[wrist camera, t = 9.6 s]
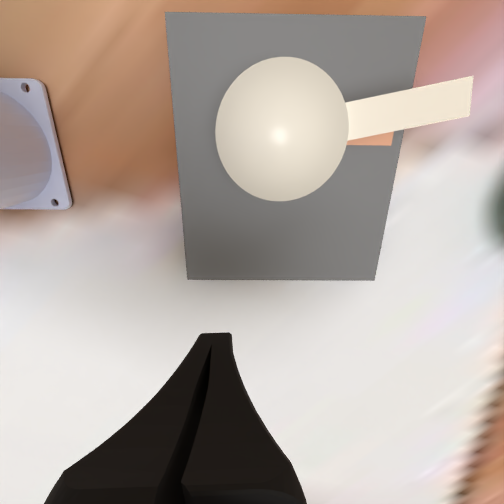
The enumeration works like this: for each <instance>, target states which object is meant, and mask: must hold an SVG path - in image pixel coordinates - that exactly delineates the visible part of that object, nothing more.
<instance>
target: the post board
mask: <svg viewBox="0 0 504 504" xmlns="http://www.w3.org/2000/svg"><path fill="white" fill-rule="evenodd" d="M165 20H166V32H167V44H168V55H169V67H170V79H171V91H172V102H173V114H174V126H175V138H176V150H177V161H178V173H179V185H180V197H181V208H182V220H183V232H184V244H185V255H186V267H187V279H188V280H370V281H374V280H375V275H376V270H377V265H378V260H379V254H380V249H381V244H382V239H383V234H384V229H385V224H386V219H387V214H388V209H389V204H390V199H391V194H392V188H393V183H394V178H395V173H396V168H397V163H398V158H399V153H400V148H401V143H402V138H403V133H404V129H403V130H398V131H393V132H388V133H383V134H378V135H373V136H368V137H363V138H358V139H353V140H348V141H347V145H346V149H345V152H344V154H343V157H342V159H341V161H340V163H339V165H338V167H337V168H336V170H335V171H334V173H333V174H332V175H331V177H330V178H329V179H328V180H327V181H326V182H325V183H324V184H323V185H322V186H321V187H319V188H318V189H316V190H315V191H314V192H312V193H310V194H308V195H306V196H304V197H301V198H298V199H294V200H290V201H269V200H264V199H261V198H258V197H256V196H253V195H251V194H249V193H248V192H246V191H245V190H243V189H242V188H241V187H239V186H238V185H237V184H236V183H235V182H234V181H233V180H232V178H231V177H230V176H229V174H228V173H227V171H226V170H225V168H224V166H223V164H222V162H221V159H220V157H219V153H218V150H217V145H216V135H215V128H216V119H217V114H218V110H219V107H220V104H221V101H222V99H223V97H224V95H225V93H226V91H227V90H228V88H229V87H230V85H231V84H232V83H233V82H234V81H235V79H236V78H237V77H238V76H239V75H240V74H241V73H243V72H244V71H245V70H246V69H248V68H249V67H251V66H252V65H254V64H256V63H258V62H261V61H263V60H266V59H270V58H275V57H295V58H300V59H303V60H306V61H309V62H311V63H313V64H315V65H317V66H318V67H319V68H321V69H322V70H323V71H325V72H326V73H327V74H328V75H329V76H330V77H331V78H332V80H333V81H334V82H335V83H336V85H337V86H338V88H339V90H340V92H341V93H342V96H343V98H344V101H345V103H346V102H351V101H355V100H360V99H365V98H370V97H374V96H379V95H384V94H389V93H393V92H398V91H403V90H408V89H412V87H413V82H414V77H415V72H416V67H417V62H418V57H419V51H420V46H421V41H422V36H423V31H424V26H425V21H426V16H371V15H313V14H255V13H197V12H165Z"/></svg>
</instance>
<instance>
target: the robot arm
mask: <svg viewBox="0 0 504 504" xmlns="http://www.w3.org/2000/svg"><path fill="white" fill-rule="evenodd" d="M27 84H28V85H29V87H30V91H29V92H27V91H26V85H27ZM54 199H56V200H57V201H58V203H59V205H57V204H56V203H55V202H54ZM71 206H72V199H71V195H70V191H69V187H68V182H67V178H66V174H65V169H64V165H63V161H62V156H61V152H60V148H59V143H58V139H57V135H56V130H55V126H54V122H53V118H52V113H51V109H50V105H49V100H48V96H47V92H46V88H45V86H44V84H43V83H42V82H41V81H39V80H37V79H32V78H0V209H46V210H65V209H68V208H70V207H71ZM44 504H307V503H306V499H305V496H304V493H303V490H302V487H301V485H300V482H299V480H298V478H297V475H296V473H295V471H294V468H293V466H292V464H291V462H290V460H289V459H288V458H287V457H286V455H285V454H284V453H283V451H282V450H281V449H280V447H279V446H278V445H277V443H276V442H275V440H274V439H273V437H272V436H271V434H270V433H269V431H268V430H267V428H266V426H265V425H264V423H263V421H262V420H261V418H260V417H259V415H258V413H257V411H256V410H255V408H254V406H253V404H252V402H251V400H250V398H249V396H248V394H247V391H246V389H245V387H244V385H243V382H242V379H241V377H240V374H239V371H238V368H237V365H236V362H235V359H234V355H233V346H232V335H231V334H230V333H202V334H200V335H199V337H198V339H197V340H196V342H195V344H194V345H193V347H192V348H191V350H190V351H189V353H188V354H187V356H186V357H185V359H184V360H183V361H182V363H181V364H180V366H179V367H178V368H177V370H176V371H175V372H174V373H173V375H172V376H171V377H170V378H169V380H168V381H167V382H166V383H165V385H164V386H163V387H162V388H161V389H160V390H159V392H158V393H157V394H156V395H155V396H154V397H153V398H152V399H151V400H150V401H149V402H148V403H147V404H146V405H145V406H144V407H143V408H142V409H141V410H140V411H139V412H138V413H137V414H136V415H135V416H134V417H133V418H132V419H131V420H130V421H129V422H128V423H126V424H125V425H124V426H123V427H122V428H121V429H119V430H118V431H117V432H116V433H115V434H113V435H112V436H111V437H110V438H109V439H107V440H106V441H105V442H104V443H102V444H101V445H100V446H98V447H97V448H96V449H94V450H93V451H92V452H90V453H89V454H87V455H86V456H85V457H83V458H82V459H80V460H79V461H78V462H76V463H75V464H73V465H72V466H71V467H69V468H68V469H66V470H65V471H64V472H63V473H62V475H61V477H60V478H59V480H58V481H57V483H56V484H55V485H54V487H53V489H52V490H51V492H50V494H49V496H48V497H47V499H46V501H45V503H44Z"/></svg>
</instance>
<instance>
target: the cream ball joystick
mask: <svg viewBox="0 0 504 504" xmlns="http://www.w3.org/2000/svg"><path fill="white" fill-rule="evenodd" d="M472 84H473V76H470V77H465V78H460V79H455V80H451V81H446V82H441V83H436V84H432V85H427V86H422V87H417V88H413V89H408V90H403V91H398V92H393V93H389V94H384V95H379V96H374V97H370V98H365V99H360V100H355V101H351V102H346V103H345V101H344V98H343V96H342V93H341V92H340V90H339V88H338V86H337V85H336V83H335V82H334V81H333V80H332V78H331V77H330V76H329V75H328V74H327V73H326V72H325V71H323V70H322V69H321V68H319V67H318V66H317V65H315V64H313V63H311V62H309V61H306V60H303V59H300V58H295V57H275V58H270V59H266V60H263V61H261V62H258V63H256V64H254V65H252V66H251V67H249V68H248V69H246V70H245V71H244V72H243V73H241V74H240V75H239V76H238V77H237V78H236V79H235V81H234V82H233V83H232V84H231V85H230V87H229V88H228V90H227V91H226V93H225V95H224V97H223V99H222V101H221V104H220V107H219V110H218V114H217V119H216V128H215V135H216V145H217V150H218V153H219V157H220V159H221V162H222V164H223V166H224V168H225V170H226V171H227V173H228V174H229V176H230V177H231V178H232V180H233V181H234V182H235V183H236V184H237V185H238V186H239V187H241V188H242V189H243V190H245V191H246V192H248V193H249V194H251V195H253V196H256V197H258V198H261V199H264V200H269V201H290V200H294V199H298V198H301V197H304V196H306V195H308V194H310V193H312V192H314V191H315V190H316V189H318V188H319V187H321V186H322V185H323V184H324V183H325V182H326V181H327V180H328V179H329V178H330V177H331V175H332V174H333V173H334V171H335V170H336V168H337V167H338V165H339V163H340V161H341V159H342V157H343V154H344V152H345V149H346V145H347V141H348V140H353V139H358V138H363V137H368V136H373V135H378V134H383V133H388V132H393V131H398V130H403V129H408V128H413V127H418V126H423V125H428V124H433V123H438V122H443V121H448V120H453V119H458V118H463V117H467V116H470V106H471V95H472Z"/></svg>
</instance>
